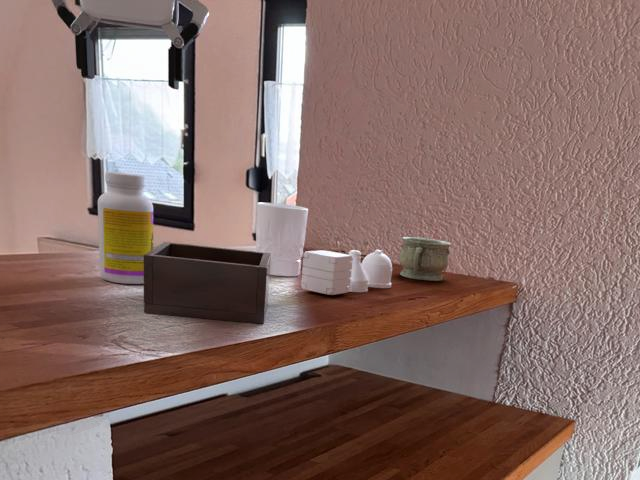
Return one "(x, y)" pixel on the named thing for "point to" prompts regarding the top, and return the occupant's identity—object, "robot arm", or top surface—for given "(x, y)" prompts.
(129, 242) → the supplement bottle
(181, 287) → the box
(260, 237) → the white cup
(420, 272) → the vessel
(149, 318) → the top surface
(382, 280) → the container set
